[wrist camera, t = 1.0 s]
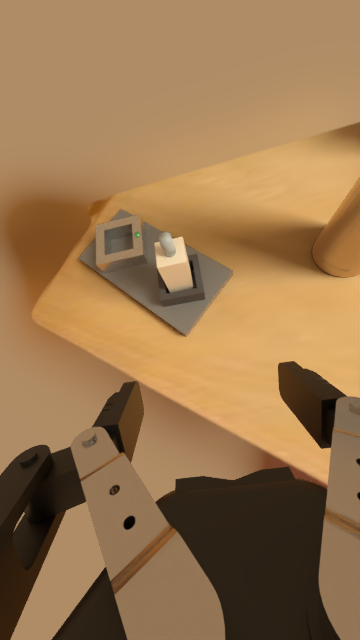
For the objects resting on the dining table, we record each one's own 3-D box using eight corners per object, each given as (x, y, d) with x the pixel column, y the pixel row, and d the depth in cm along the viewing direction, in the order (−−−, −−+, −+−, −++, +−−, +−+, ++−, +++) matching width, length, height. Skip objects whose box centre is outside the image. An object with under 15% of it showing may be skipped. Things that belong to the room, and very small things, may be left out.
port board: (124, 214, 46) (121, 208, 45) (232, 274, 38) (233, 270, 37) (82, 262, 45) (78, 258, 43) (186, 336, 36) (185, 334, 35)
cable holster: (160, 271, 39) (156, 262, 36) (198, 263, 38) (197, 253, 35) (164, 306, 37) (160, 300, 34) (205, 299, 36) (204, 292, 33)
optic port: (103, 235, 44) (95, 224, 41) (144, 225, 43) (139, 213, 40) (104, 273, 41) (95, 264, 38) (148, 263, 40) (142, 253, 37)
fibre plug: (169, 277, 38) (147, 227, 26) (191, 272, 38) (178, 220, 26) (172, 296, 37) (150, 255, 25) (194, 292, 37) (183, 247, 24)
